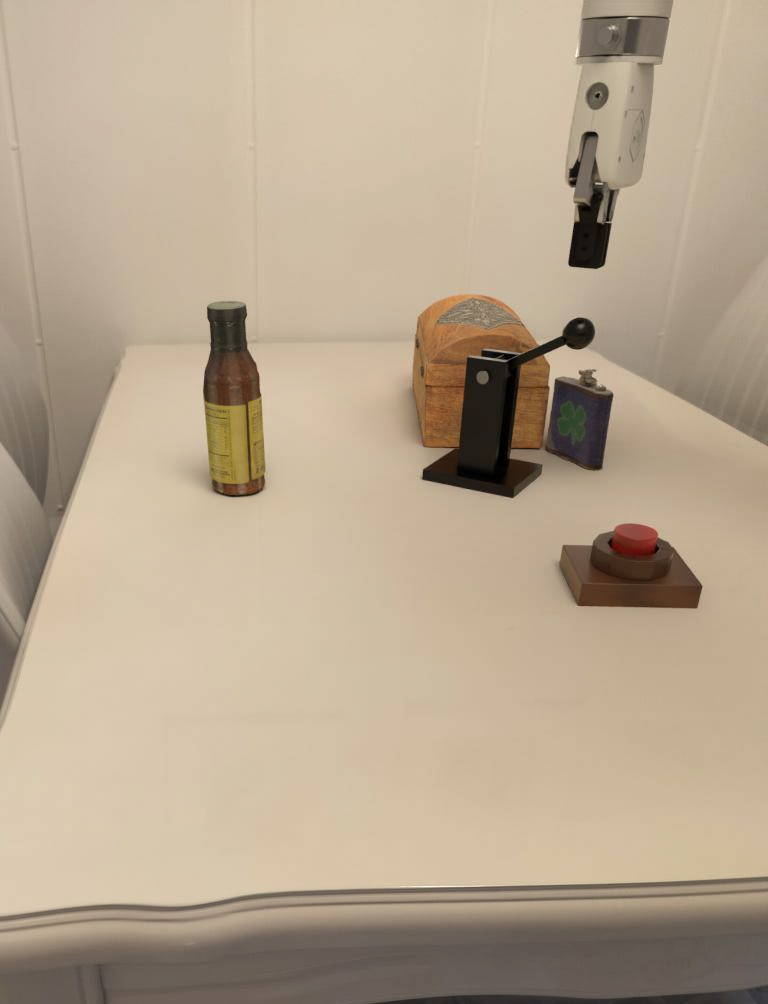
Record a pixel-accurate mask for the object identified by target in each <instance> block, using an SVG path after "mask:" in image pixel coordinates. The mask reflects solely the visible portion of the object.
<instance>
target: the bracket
mask: <svg viewBox="0 0 768 1004" xmlns="http://www.w3.org/2000/svg"><path fill="white" fill-rule="evenodd" d="M520 354H522V353H517V352H509V351H501V350H493V349H483V350H482V352H481V357H478V356H469V357H467V364H466V375H465V386H464V396H463V407H462V418H461V429H460V440H459V447H458V448H457V447H454V449H452V450H450V451H449V452H447V453H445V454H444V455H442V456H441V457H439V458H438V459H436V460H435V461H433V462H432V463H430V464H428V465H427V466H426V467H424V468H423V469H422V475H421V476H422V477H421V479H422V480H425V481H428V482H429V481H430V482H434V483H439V484H443V485H449V486H453V487H458V488H463V489H467V490H474V491H478V492H483V493H488V494H492V495H497V496H502V497H506V498H507V497H508V498H512V499H513V498H515V497H516V496H517V495H518V494H520V493H521V492H522V491H524V490H525V489H526V488H527V487H528V486H529V485H530V484H532V483H533V482H534V481H535V480H536V479H537V478H539V477H540V476H541V475H542V472H543V463H537V462H533V461H532V462H531V461H526V460H521V459H517V458H516V459H515V458H511V450H512V448H511V444H512V436H513V427H514V419H515V411H516V403H517V394H518V386H519V378H520V370H521V365H519V366H517V367H515V368H513V369H510V371H511V374H512V376H510V377H508V378H507V373H508V364H509V361H508V360H509V359H511V358H513V357H515V356H518V355H520ZM502 355H504V356H505V358H506V360H501V359H495V358H497V357H499V356H502Z"/></svg>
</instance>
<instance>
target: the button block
mask: <svg viewBox="0 0 768 1004" xmlns="http://www.w3.org/2000/svg"><path fill="white" fill-rule="evenodd" d="M613 533H614V530H611V531H607V532H606V531H605V532H603V533H599V534H598V535H597V536H596V537H595V538H594V540H593V541H592V544H591V545H588V544H587V545H586V544H582V545H581V544H563V545H562V548H561V553H560V559H559V565H558V566H559V568H560V570H561V573H562V576H564V579H565V581H566V583H567V586H568V587H569V590H570V592H571V594H572V596H573V598H574V601H575V603H576V604H577V606H578V607H609V608H648V609H649V608H652V609H656V608H657V609H662V608H663V609H698V607H699V603H700V598H701V596H702V595H701V594H702V591H703V584H702V583H701V581H700V580H699V579H698V577H697V576H696V575H695V574H694V572H693V571H692V570H691V568H690V567H689V566H688V564H687V563H686V562H685V560H684V558H682V556H681V555H680V554H679V552H678V551H677V549H676V548H675V547H674V546H672V545H671V544H670V543H669V541H668V540H667V541H666V540H665V539H662V538H660V537H658V538H657V543H656V548H655V552H654V554H652V555H648V556H633V555H629V554H624V553H620V552H618V551H616V550H614V549H612V548H611V544H612V538H613Z"/></svg>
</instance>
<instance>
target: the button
mask: <svg viewBox="0 0 768 1004" xmlns="http://www.w3.org/2000/svg"><path fill="white" fill-rule="evenodd" d="M613 531H614V533H613V538H612V544H611V548H612V549H614V550H616V551H618V552H620V553H624V554H629V555H633V556H648V555H652V554H654V552H655V548H656V543H657V538H659V532H658V531H657V530H656V529H655V528H652V527H650V526H648V525H644V524H641V523H632V522H631V523H630V522H629V523H628V522H627V523H621V524H618V525H616V526H614V529H613Z"/></svg>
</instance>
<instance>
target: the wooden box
mask: <svg viewBox="0 0 768 1004" xmlns="http://www.w3.org/2000/svg"><path fill="white" fill-rule="evenodd" d="M415 330H416V332H415V335H414V348H413V360H412V390H413V395H414V400H415V405H416V411H417V418H418V422H419V428H420V434H421V440H422V444H423V446H424V447H426V448H432V447H434V448H437V447H439V448H459V440H460V429H461V418H462V407H463V396H464V386H465V375H466V364H467V357H469V356H478V357H481V352H482V350H483V349H493V350H501V351H509V352H517V353H524V352H526V351H529V350H531V349H533V348H535V347H537V346H540V345H541V344H539V343H538V342H537V340H536V339H535V338H534V336H533V335H532V334H531V332H530V331H529V330H528V327H526V326H525V324H524V323H523V321H522V320H521V318H520V316H519V315H518V313H516V312H515V310H514V309H512V308H511V307H510V306H509V305H507V304H506V303H504V302H503V301H501V300H499V299H497V298H495V297H492V296H488V295H483V294H457V295H451V296H448V297H445V298H442V299H440V300H437V301H435V302H433V303H432V304H430V305H429V306H428V307H427V308H425V309H424V310H423V311H422V312H421V313H420V314H419V316H418V317H417V322H416V329H415ZM550 372H551V365H550V363H549V361H548V360H547V358H546V357H545V354H544V355H542V356H539V357H537V358H535V359H533V360H530V361H528V362H526V363H524V364H521V370H520V378H519V386H518V394H517V403H516V411H515V419H514V427H513V436H512V444H511V449H541V448H542V446H543V441H544V434H545V428H546V420H547V411H548V406H549V396H550V388H551V387H550V386H549V381H550Z"/></svg>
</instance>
